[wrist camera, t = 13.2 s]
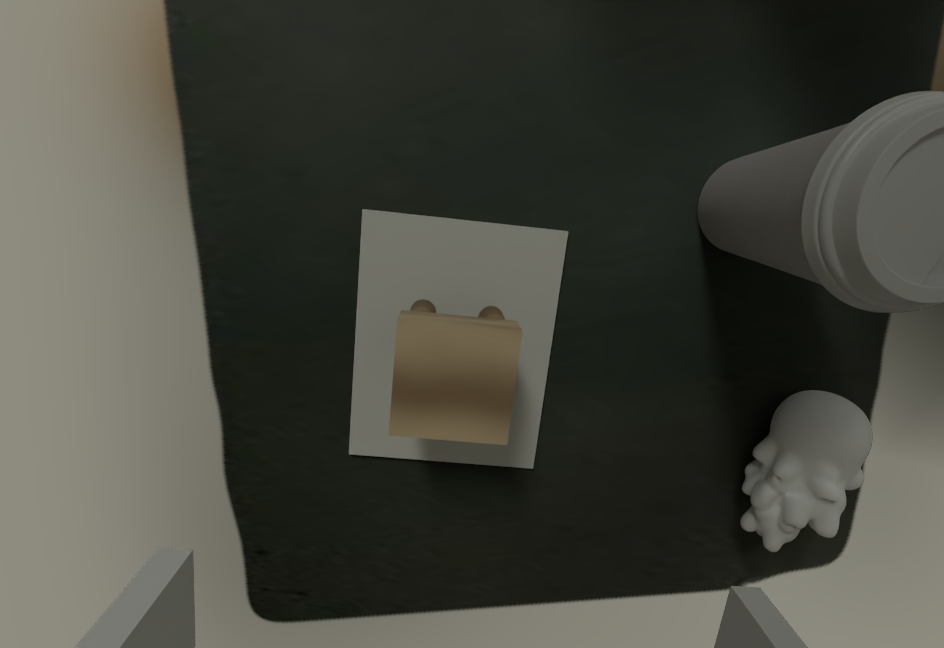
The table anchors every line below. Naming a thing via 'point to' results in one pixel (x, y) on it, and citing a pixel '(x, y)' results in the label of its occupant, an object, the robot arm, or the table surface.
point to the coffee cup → (844, 206)
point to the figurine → (805, 467)
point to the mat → (455, 293)
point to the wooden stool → (454, 375)
